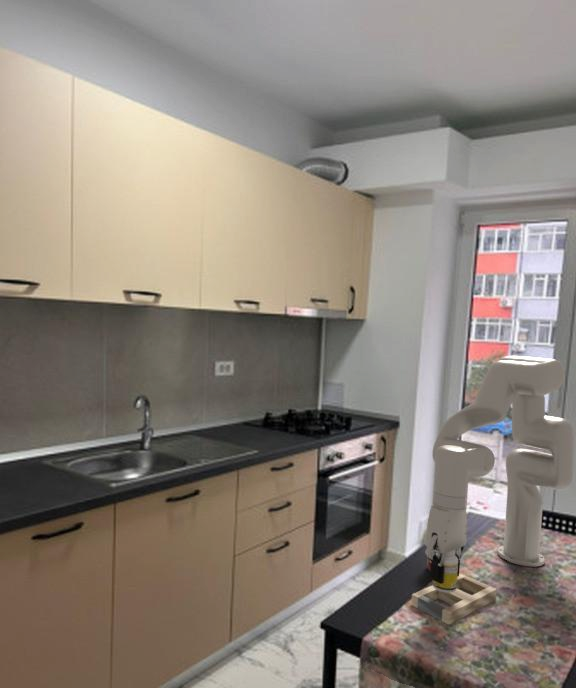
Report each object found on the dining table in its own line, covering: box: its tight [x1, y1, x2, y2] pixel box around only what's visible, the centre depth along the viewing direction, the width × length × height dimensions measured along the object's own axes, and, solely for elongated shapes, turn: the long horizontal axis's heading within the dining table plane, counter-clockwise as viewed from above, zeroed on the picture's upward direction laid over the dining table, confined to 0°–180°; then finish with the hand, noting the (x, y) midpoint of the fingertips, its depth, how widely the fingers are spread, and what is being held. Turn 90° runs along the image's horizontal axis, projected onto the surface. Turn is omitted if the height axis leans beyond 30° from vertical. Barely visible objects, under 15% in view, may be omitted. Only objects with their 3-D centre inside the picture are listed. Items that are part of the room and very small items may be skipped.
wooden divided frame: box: [410, 572, 498, 626], centre depth 126 cm, size 20×10×2 cm, turn 129°
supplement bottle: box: [432, 547, 458, 593], centre depth 123 cm, size 5×5×10 cm
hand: (444, 576), depth 123 cm, fingers closed on supplement bottle, 5 cm apart
